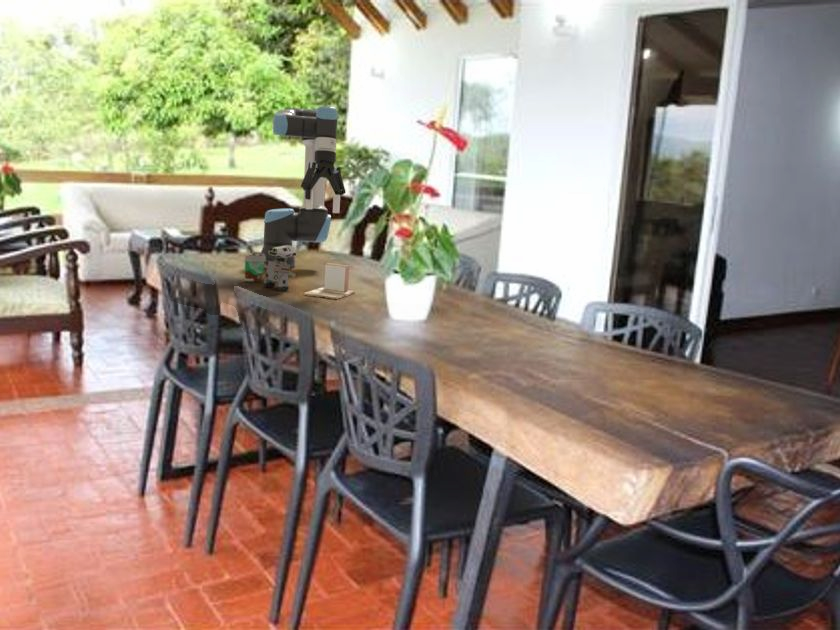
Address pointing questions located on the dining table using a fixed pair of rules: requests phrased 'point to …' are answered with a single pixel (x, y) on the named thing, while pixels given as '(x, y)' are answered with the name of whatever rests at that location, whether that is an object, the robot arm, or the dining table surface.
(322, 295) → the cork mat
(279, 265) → the figurine
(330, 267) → the tile
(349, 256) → the dining table surface
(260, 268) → the food container
